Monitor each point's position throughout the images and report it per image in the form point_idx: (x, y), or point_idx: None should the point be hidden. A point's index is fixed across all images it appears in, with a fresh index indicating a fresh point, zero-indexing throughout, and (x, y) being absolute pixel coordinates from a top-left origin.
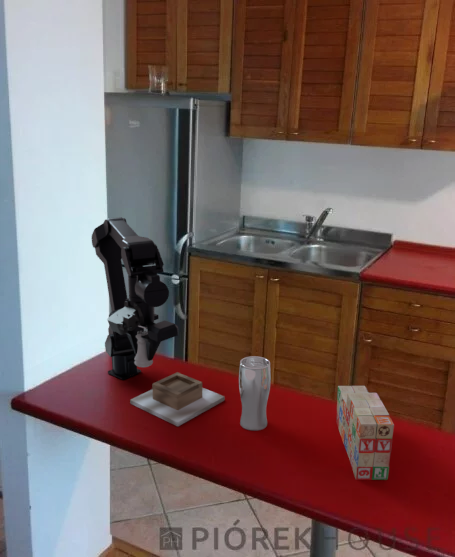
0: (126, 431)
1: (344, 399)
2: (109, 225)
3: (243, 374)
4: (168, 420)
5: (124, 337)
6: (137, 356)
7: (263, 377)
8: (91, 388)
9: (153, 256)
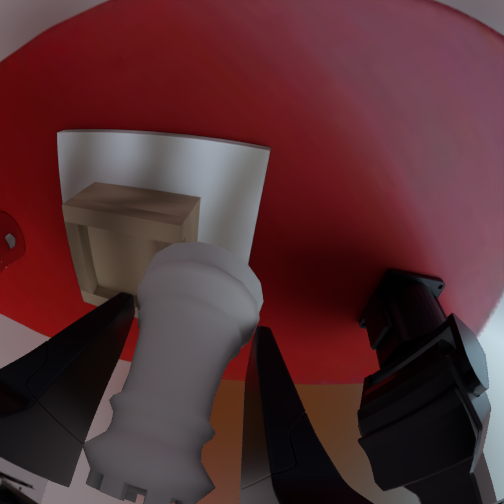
0: (154, 11)
1: None
2: None
3: None
4: (89, 130)
5: (419, 410)
6: (194, 298)
7: None
8: (452, 184)
9: None
